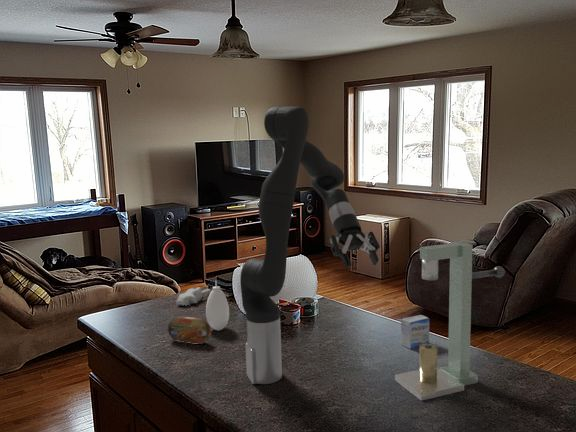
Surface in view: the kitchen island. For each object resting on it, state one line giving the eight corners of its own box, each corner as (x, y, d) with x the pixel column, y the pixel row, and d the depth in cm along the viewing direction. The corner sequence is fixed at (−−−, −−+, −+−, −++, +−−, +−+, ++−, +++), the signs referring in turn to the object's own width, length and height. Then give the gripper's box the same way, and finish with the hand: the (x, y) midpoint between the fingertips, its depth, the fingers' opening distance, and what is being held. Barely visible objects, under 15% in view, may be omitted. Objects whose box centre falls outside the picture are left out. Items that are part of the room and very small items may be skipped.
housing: (426, 384, 132) (426, 350, 131) (415, 377, 137) (416, 344, 135) (440, 381, 134) (441, 347, 133) (430, 374, 138) (430, 341, 137)
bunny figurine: (170, 296, 207) (195, 282, 219) (172, 307, 208) (197, 293, 221) (188, 299, 202) (212, 285, 214) (189, 311, 203) (214, 296, 216)
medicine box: (409, 349, 158) (410, 322, 157) (400, 344, 162) (400, 318, 161) (429, 344, 162) (429, 317, 160) (419, 339, 166) (420, 313, 164)
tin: (168, 341, 171) (166, 316, 170) (173, 337, 174) (172, 313, 172) (207, 346, 165) (206, 321, 164) (212, 343, 168) (211, 318, 167)
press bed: (421, 400, 128) (422, 255, 122) (394, 380, 139) (395, 245, 133) (516, 377, 138) (521, 242, 132) (484, 360, 149) (488, 234, 143)
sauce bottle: (234, 327, 181) (231, 278, 178) (219, 335, 174) (217, 283, 172) (217, 324, 185) (214, 275, 182) (202, 331, 179) (199, 280, 176)
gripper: (326, 214, 151) (344, 260, 142) (369, 210, 156) (389, 255, 147) (319, 229, 157) (336, 275, 148) (361, 225, 162) (379, 269, 153)
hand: (362, 265), depth 148 cm, fingers open, 8 cm apart
